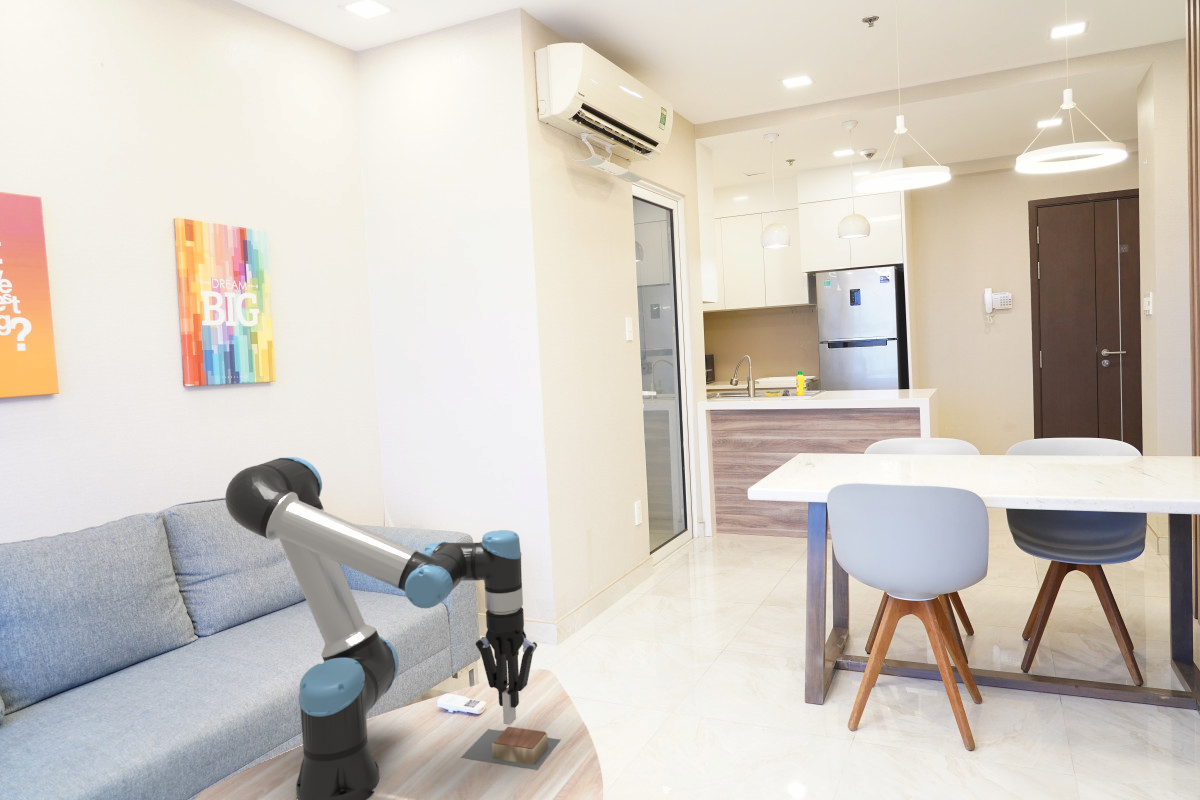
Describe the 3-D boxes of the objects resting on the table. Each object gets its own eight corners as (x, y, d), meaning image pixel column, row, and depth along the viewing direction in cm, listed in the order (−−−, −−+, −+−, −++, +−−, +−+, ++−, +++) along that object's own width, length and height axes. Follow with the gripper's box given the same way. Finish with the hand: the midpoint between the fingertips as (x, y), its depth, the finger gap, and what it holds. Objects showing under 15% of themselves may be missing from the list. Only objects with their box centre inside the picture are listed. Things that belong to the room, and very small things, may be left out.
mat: (460, 760, 156) (460, 757, 156) (488, 731, 168) (488, 728, 168) (537, 772, 151) (537, 770, 151) (560, 742, 162) (560, 739, 162)
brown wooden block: (492, 742, 155) (533, 748, 152) (507, 725, 162) (547, 731, 159) (492, 758, 156) (533, 764, 153) (508, 741, 162) (547, 746, 159)
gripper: (541, 604, 157) (546, 716, 159) (484, 599, 162) (489, 708, 163) (526, 617, 150) (531, 734, 152) (466, 612, 155) (472, 725, 156)
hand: (509, 721), depth 158 cm, fingers closed
